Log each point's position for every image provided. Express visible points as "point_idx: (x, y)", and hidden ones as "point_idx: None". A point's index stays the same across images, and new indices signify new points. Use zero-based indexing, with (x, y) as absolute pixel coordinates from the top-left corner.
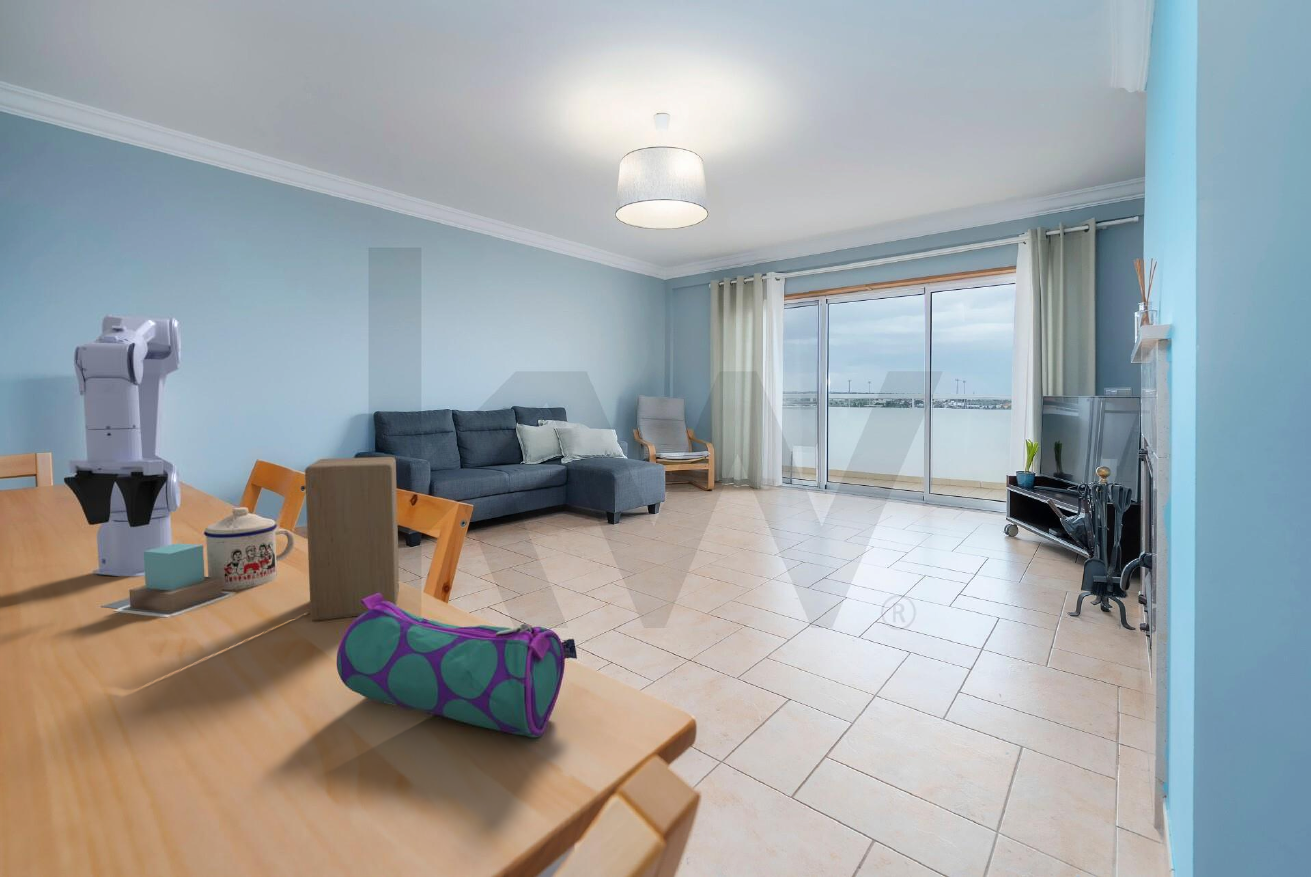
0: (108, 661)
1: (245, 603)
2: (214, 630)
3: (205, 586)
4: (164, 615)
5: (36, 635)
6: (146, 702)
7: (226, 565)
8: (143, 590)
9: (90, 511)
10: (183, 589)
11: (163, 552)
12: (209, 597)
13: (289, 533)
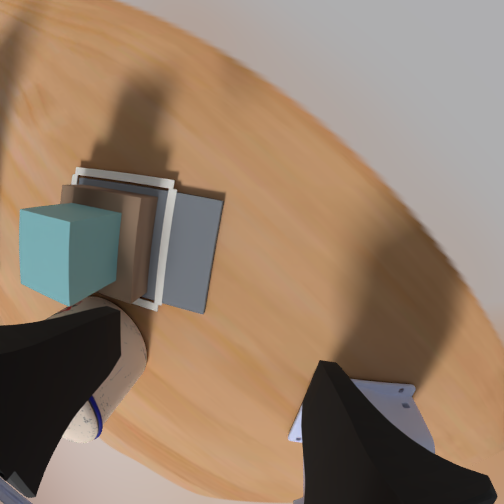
0: (67, 57)
1: None
2: (24, 152)
3: None
4: (82, 171)
5: (218, 81)
6: (17, 38)
7: (62, 311)
8: (114, 198)
9: (330, 396)
10: None
11: (32, 216)
12: None
13: None
